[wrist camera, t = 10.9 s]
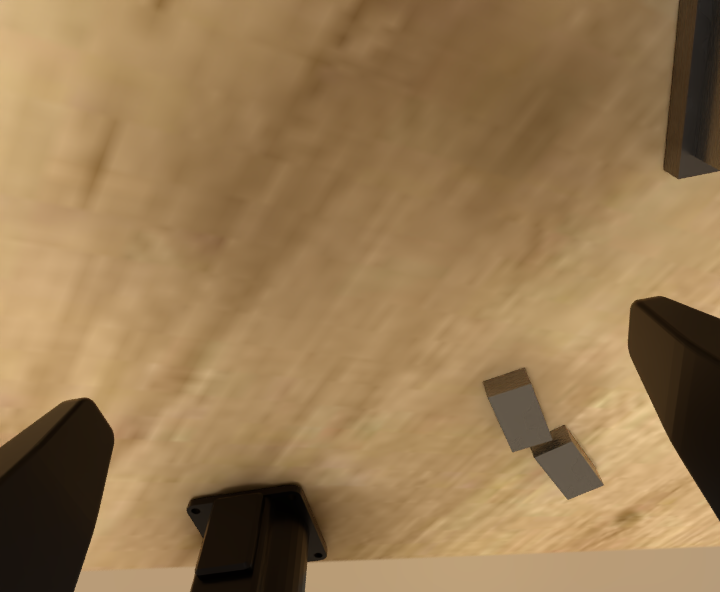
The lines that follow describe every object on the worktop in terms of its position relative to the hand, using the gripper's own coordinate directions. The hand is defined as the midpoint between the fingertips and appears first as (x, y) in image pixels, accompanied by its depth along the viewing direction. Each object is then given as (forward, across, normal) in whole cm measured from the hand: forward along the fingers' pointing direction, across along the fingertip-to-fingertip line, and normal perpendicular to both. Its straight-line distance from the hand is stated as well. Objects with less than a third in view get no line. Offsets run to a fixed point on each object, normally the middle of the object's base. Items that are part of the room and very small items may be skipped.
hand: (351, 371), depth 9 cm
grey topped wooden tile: (+12, -5, +14) cm, 19 cm away
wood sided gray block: (+12, -7, +18) cm, 23 cm away
